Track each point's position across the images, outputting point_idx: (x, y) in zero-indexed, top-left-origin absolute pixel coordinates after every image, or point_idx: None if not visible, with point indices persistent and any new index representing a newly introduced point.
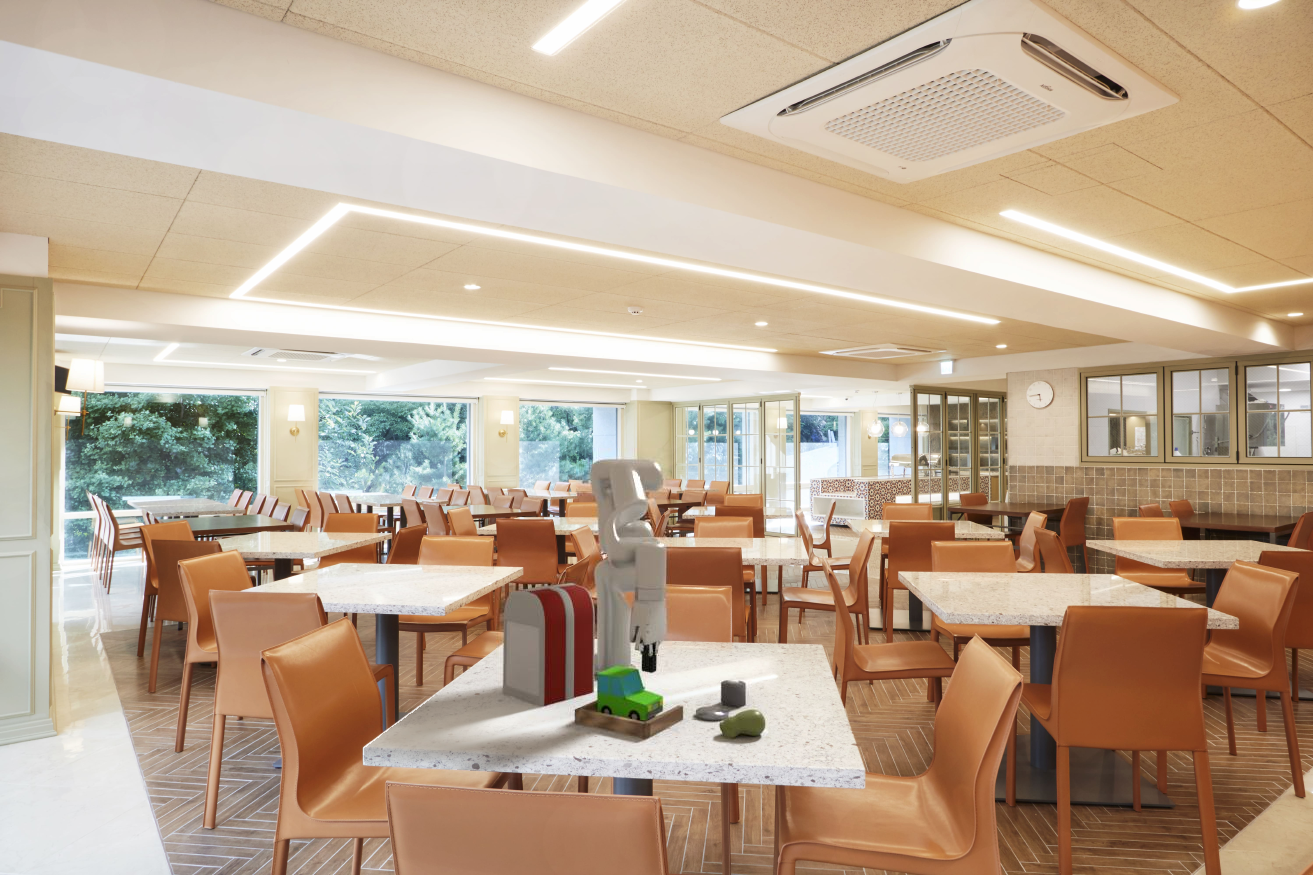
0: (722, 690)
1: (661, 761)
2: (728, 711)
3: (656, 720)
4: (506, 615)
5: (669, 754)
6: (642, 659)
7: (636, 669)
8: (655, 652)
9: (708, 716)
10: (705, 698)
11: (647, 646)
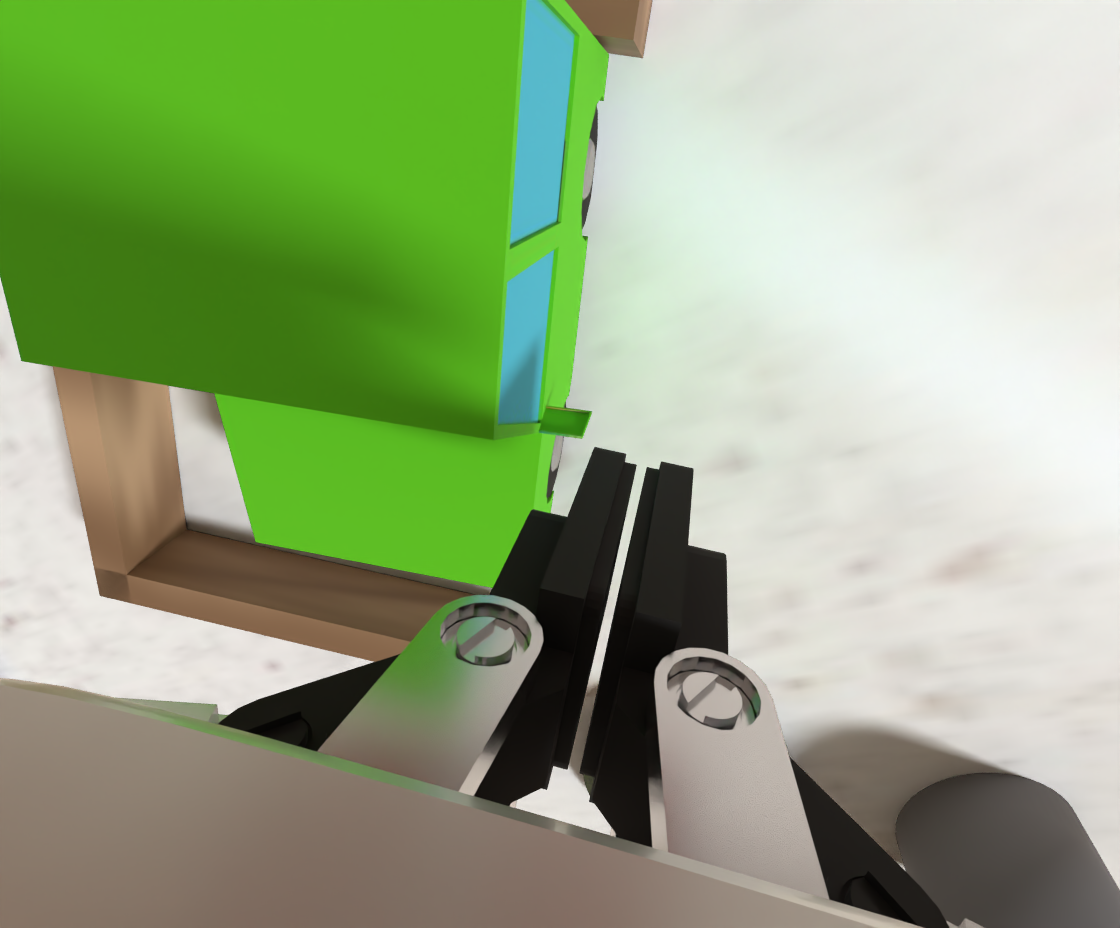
0: (969, 879)
1: (3, 674)
2: None
3: (203, 616)
4: None
5: (81, 684)
6: (561, 540)
7: (459, 426)
8: (611, 834)
9: (584, 775)
10: (1094, 673)
11: (656, 782)
